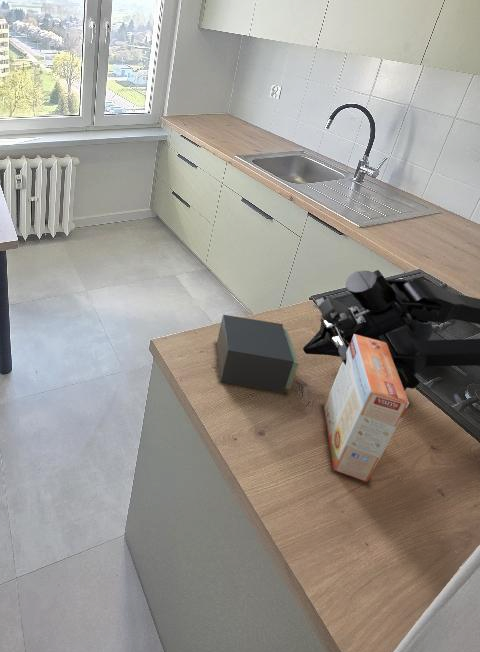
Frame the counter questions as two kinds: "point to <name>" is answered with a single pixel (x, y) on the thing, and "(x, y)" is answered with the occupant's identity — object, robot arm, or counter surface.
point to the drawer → (293, 359)
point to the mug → (419, 330)
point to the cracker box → (363, 407)
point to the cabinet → (253, 353)
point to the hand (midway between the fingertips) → (304, 351)
